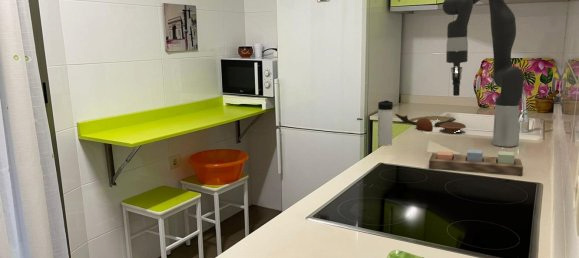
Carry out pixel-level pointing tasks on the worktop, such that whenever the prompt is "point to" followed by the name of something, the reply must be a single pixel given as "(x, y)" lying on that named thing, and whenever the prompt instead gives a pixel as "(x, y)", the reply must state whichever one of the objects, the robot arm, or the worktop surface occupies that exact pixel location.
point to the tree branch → (441, 118)
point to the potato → (424, 125)
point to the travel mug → (385, 123)
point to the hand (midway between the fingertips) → (456, 95)
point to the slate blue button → (474, 155)
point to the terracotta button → (445, 155)
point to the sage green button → (506, 157)
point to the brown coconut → (452, 126)
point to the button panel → (476, 165)
